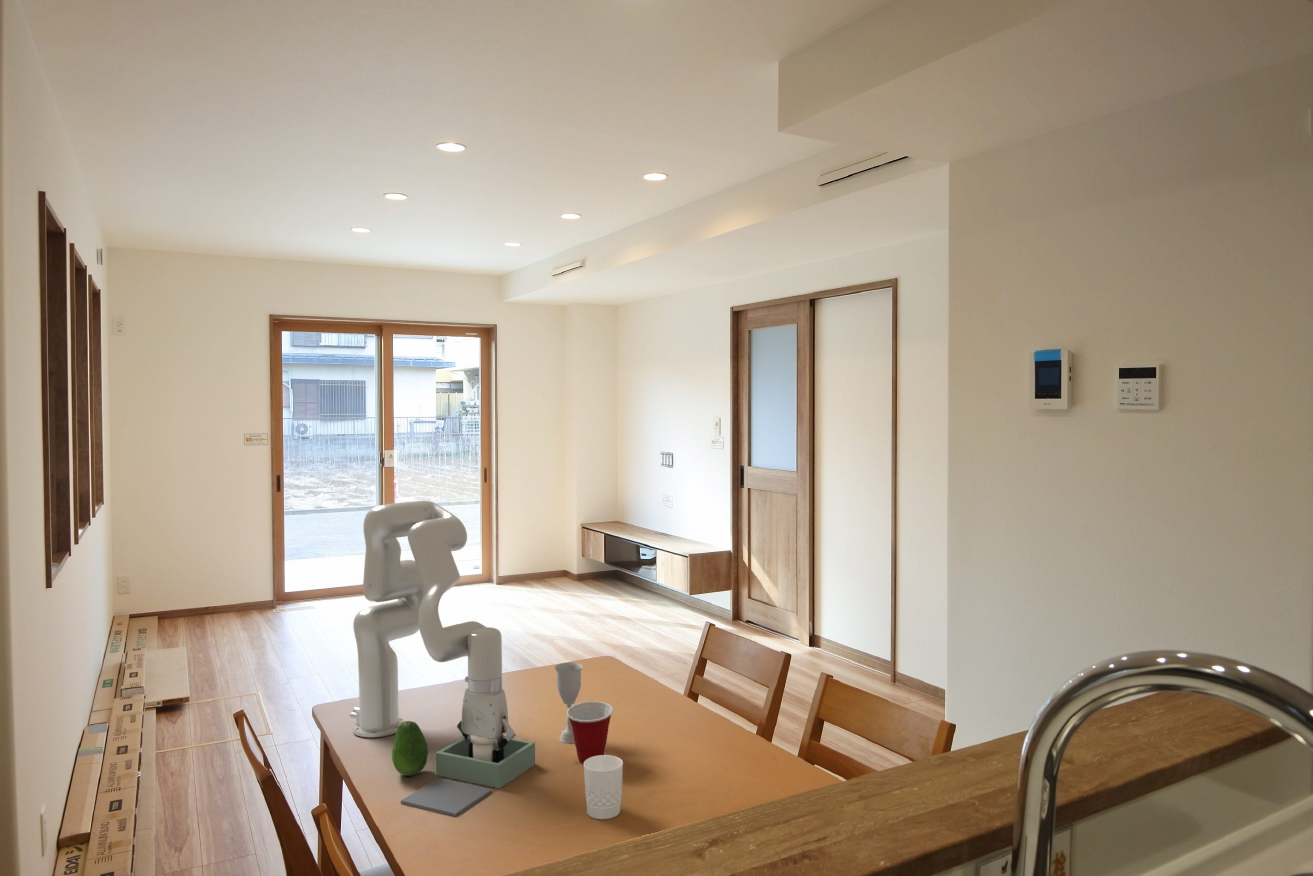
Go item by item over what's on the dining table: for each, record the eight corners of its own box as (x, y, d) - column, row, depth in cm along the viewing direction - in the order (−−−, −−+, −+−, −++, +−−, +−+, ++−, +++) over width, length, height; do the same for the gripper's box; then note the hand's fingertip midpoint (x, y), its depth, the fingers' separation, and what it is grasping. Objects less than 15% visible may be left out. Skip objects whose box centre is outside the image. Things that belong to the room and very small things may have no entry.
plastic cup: (558, 766, 193) (558, 714, 192) (579, 748, 203) (578, 699, 202) (602, 773, 189) (601, 719, 189) (621, 754, 199) (620, 703, 199)
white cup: (584, 803, 174) (583, 755, 174) (622, 802, 175) (622, 754, 174) (584, 822, 166) (583, 772, 166) (624, 820, 167) (623, 770, 167)
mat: (400, 803, 175) (400, 800, 175) (439, 780, 186) (438, 777, 186) (455, 816, 169) (455, 813, 169) (491, 792, 180) (491, 789, 180)
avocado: (390, 771, 191) (389, 718, 190) (426, 765, 194) (425, 713, 193) (394, 785, 183) (393, 730, 183) (431, 778, 186) (430, 725, 186)
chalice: (578, 746, 204) (577, 672, 204) (551, 744, 206) (550, 670, 205) (587, 734, 212) (586, 663, 211) (561, 732, 213) (560, 661, 212)
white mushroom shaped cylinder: (464, 772, 190) (463, 734, 189) (483, 761, 196) (482, 724, 196) (489, 778, 187) (489, 739, 186) (508, 766, 193) (507, 729, 193)
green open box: (435, 774, 188) (435, 752, 188) (474, 752, 201) (474, 731, 201) (499, 788, 181) (498, 765, 181) (535, 764, 194) (535, 742, 194)
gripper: (443, 684, 191) (445, 763, 191) (507, 694, 184) (508, 776, 184) (464, 674, 198) (465, 751, 198) (526, 684, 190) (527, 763, 191)
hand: (486, 762), depth 191 cm, fingers closed on white mushroom shaped cylinder, 5 cm apart
